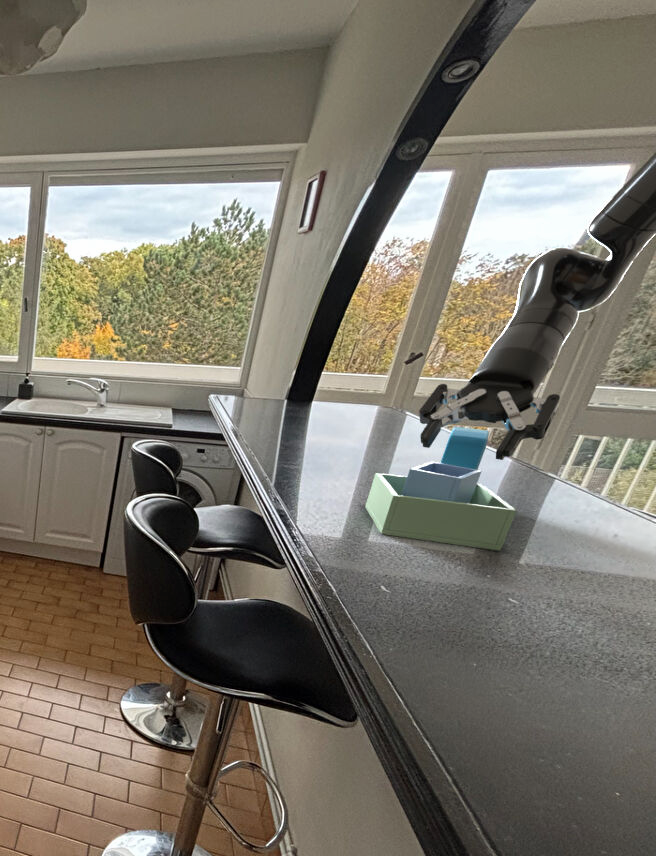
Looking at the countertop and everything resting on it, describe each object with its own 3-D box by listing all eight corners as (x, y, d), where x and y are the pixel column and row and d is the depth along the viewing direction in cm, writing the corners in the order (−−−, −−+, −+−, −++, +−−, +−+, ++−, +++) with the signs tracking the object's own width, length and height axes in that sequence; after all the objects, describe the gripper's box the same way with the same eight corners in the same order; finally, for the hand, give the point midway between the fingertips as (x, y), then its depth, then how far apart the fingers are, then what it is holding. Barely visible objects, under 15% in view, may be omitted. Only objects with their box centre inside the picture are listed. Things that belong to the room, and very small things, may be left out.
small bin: (462, 522, 87) (481, 470, 84) (441, 533, 83) (461, 478, 80) (414, 511, 91) (431, 461, 88) (392, 520, 87) (409, 468, 84)
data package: (430, 493, 103) (454, 425, 99) (463, 499, 100) (489, 429, 96) (424, 509, 95) (449, 436, 90) (460, 516, 92) (488, 440, 88)
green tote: (469, 520, 90) (482, 484, 88) (500, 551, 79) (517, 510, 77) (365, 507, 96) (375, 472, 93) (380, 534, 84) (393, 495, 82)
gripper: (455, 342, 89) (401, 425, 88) (587, 348, 78) (528, 443, 77) (456, 376, 94) (404, 455, 92) (580, 386, 83) (525, 476, 82)
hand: (460, 450), depth 85 cm, fingers open, 8 cm apart
